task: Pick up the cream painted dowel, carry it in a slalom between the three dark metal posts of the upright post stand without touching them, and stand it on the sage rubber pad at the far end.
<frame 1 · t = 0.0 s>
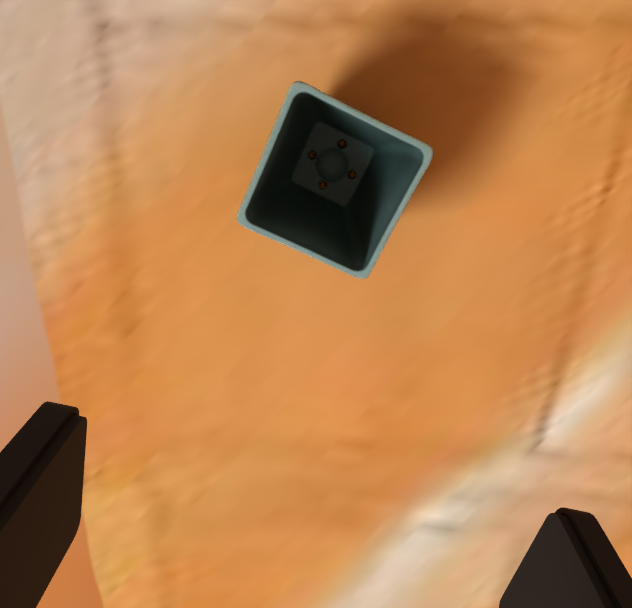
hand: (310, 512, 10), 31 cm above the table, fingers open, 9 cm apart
flower pot: (332, 162, 38), on the table
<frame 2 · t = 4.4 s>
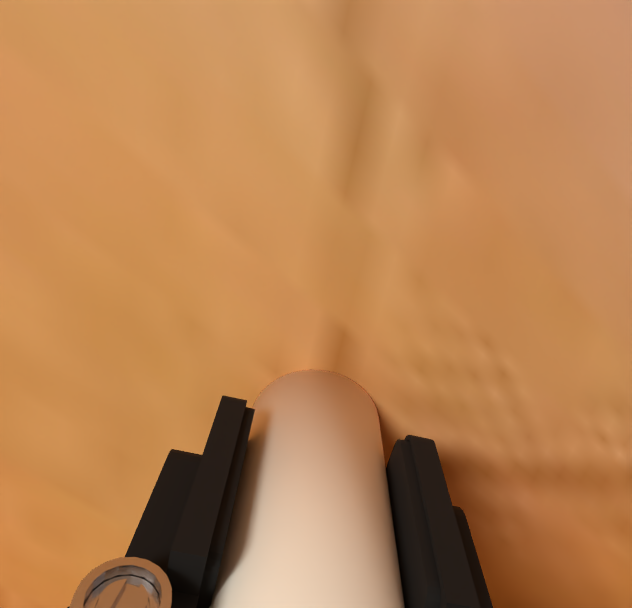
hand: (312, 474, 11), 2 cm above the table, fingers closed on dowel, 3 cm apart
dowel: (314, 425, 13), on the table, touching gripper
when the fingers open (3 cm above the table, at t = 11.1 s): dowel drops 1 cm, resting on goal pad.
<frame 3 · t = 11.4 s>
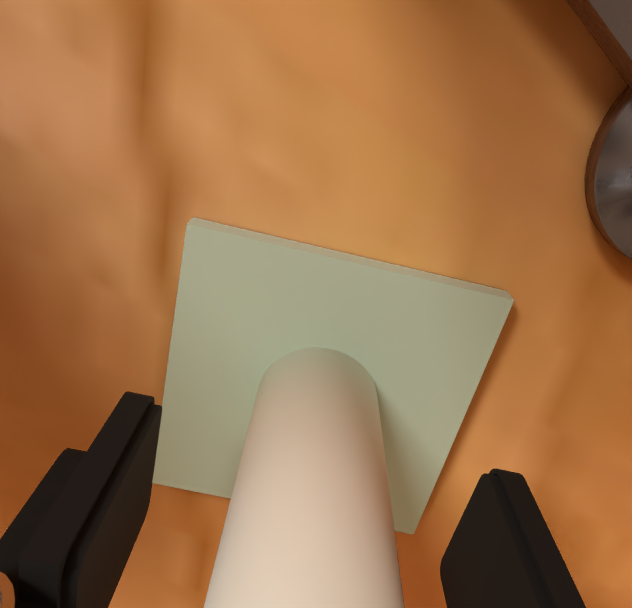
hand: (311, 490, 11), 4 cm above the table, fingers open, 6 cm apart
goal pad: (316, 387, 15), on the table
dowel: (317, 400, 14), point 1 cm above the table, touching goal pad
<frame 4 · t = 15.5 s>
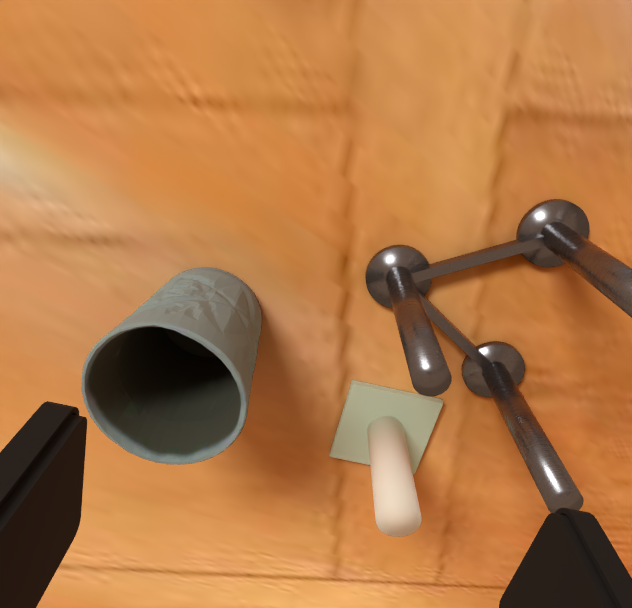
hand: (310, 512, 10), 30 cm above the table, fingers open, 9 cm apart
upright post stand: (459, 290, 41), on the table
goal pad: (384, 426, 46), on the table
grey teal cup: (207, 314, 43), on the table
dowel: (385, 430, 46), point 1 cm above the table, touching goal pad
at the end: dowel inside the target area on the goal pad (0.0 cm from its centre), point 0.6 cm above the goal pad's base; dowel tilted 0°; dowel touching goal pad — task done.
